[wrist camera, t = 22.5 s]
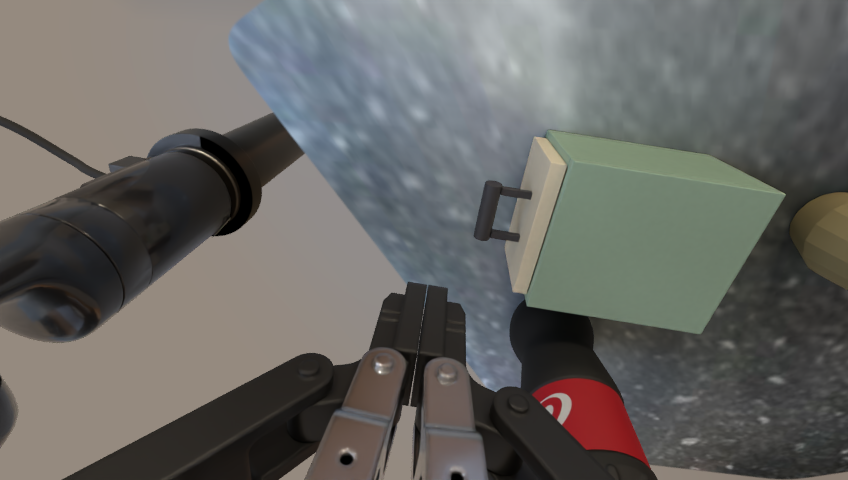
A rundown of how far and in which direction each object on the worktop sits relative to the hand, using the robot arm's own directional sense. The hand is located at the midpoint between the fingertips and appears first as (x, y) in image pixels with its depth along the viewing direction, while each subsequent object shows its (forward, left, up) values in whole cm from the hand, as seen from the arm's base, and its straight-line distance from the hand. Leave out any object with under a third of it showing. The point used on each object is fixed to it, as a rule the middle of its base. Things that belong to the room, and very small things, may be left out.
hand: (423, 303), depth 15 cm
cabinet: (+16, -4, -25) cm, 30 cm away
